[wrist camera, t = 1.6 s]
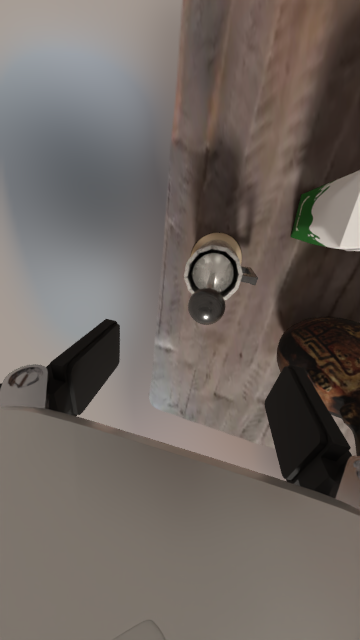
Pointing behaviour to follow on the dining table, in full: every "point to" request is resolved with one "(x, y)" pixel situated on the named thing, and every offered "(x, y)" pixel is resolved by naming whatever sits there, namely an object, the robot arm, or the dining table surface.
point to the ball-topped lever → (210, 288)
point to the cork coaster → (219, 237)
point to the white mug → (229, 253)
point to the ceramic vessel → (328, 364)
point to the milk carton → (331, 214)
